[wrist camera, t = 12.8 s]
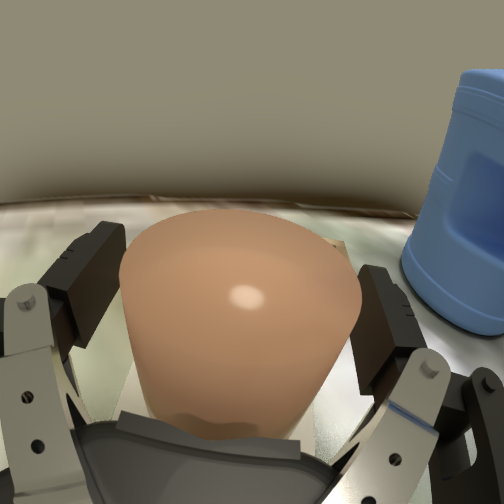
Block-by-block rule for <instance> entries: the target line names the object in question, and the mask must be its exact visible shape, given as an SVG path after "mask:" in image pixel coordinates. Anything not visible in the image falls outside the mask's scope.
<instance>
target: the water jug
mask: <svg viewBox="0 0 504 504" xmlns="http://www.w3.org/2000/svg"><path fill="white" fill-rule="evenodd" d="M452 111H453V112H452V116H451V119H450V123H449V127H448V131H447V134H446V137H445V141H444V144H443V147H442V151H441V154H440V157H439V160H438V163H437V165H436V166H435V169H434V171H433V174H432V177H431V180H430V184H429V190H428V193H427V195H426V198H425V201H424V203H423V206H422V209H421V211H420V214H419V216H418V219H417V221H416V224H415V226H414V229H413V231H412V234H411V235H410V236H409V238H408V240H407V242H406V244H405V247H404V249H403V252H402V267H403V270H404V273H405V275H406V277H407V279H408V281H409V283H410V284H411V286H412V287H413V289H414V290H415V291H416V293H417V294H418V295H419V296H420V297H421V298H422V299H423V300H424V301H425V302H426V303H427V304H428V305H429V306H430V307H431V308H432V309H433V310H434V311H436V312H437V313H438V314H440V315H441V316H442V317H444V318H445V319H447V320H448V321H450V322H451V323H453V324H455V325H457V326H459V327H461V328H463V329H465V330H467V331H470V332H473V333H476V334H480V335H487V336H493V335H499V334H503V333H504V69H477V70H467V71H465V72H463V74H462V75H461V77H460V82H459V87H458V88H457V91H456V93H455V97H454V102H453V107H452Z"/></svg>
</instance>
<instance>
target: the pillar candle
mask: <svg viewBox="0 0 504 504" xmlns="http://www.w3.org/2000/svg"><path fill="white" fill-rule="evenodd" d="M119 281H120V289H121V296H122V302H123V308H124V313H125V319H126V324H127V329H128V334H129V339H130V344H131V348H132V353H133V357H134V362H135V366H136V370H137V374H138V378H139V382H140V386H141V390H142V393H143V397H144V401H145V404H146V408H147V411H148V415H149V418H153V419H157V420H161V421H164V422H166V423H168V424H170V425H173V426H175V427H177V428H179V429H181V430H183V431H186V432H188V433H190V434H192V435H195V436H197V437H199V438H202V439H204V440H209V441H216V440H229V439H240V438H250V437H264V438H275V439H289V438H290V436H291V435H292V433H293V432H294V430H295V429H296V427H297V425H298V424H299V422H300V421H301V419H302V418H303V416H304V414H305V413H306V411H307V410H308V408H309V406H310V405H311V403H312V401H313V400H314V398H315V396H316V395H317V393H318V391H319V390H320V388H321V386H322V385H323V383H324V381H325V379H326V378H327V376H328V374H329V372H330V371H331V369H332V367H333V365H334V363H335V362H336V360H337V358H338V356H339V354H340V352H341V351H342V349H343V347H344V345H345V343H346V341H347V339H348V337H349V335H350V333H351V331H352V329H353V327H354V325H355V323H356V321H357V319H358V316H359V314H360V310H361V305H362V292H361V287H360V283H359V280H358V278H357V275H356V273H355V271H354V270H353V268H352V266H351V265H350V263H349V262H348V261H347V260H346V258H345V257H344V256H343V255H342V254H341V253H340V252H339V251H338V250H337V249H336V248H335V247H334V246H332V245H331V244H330V243H329V242H327V241H326V240H325V239H323V238H322V237H320V236H319V235H317V234H315V233H313V232H312V231H310V230H308V229H306V228H304V227H302V226H300V225H297V224H295V223H292V222H290V221H287V220H284V219H281V218H278V217H275V216H271V215H267V214H262V213H257V212H252V211H244V210H232V209H212V210H201V211H193V212H188V213H184V214H180V215H176V216H173V217H170V218H167V219H165V220H162V221H160V222H158V223H156V224H154V225H152V226H151V227H149V228H148V229H146V230H145V231H143V232H142V233H141V234H140V235H139V236H137V237H136V238H135V239H134V240H133V242H132V243H131V244H130V245H129V247H128V248H127V250H126V252H125V253H124V255H123V258H122V261H121V264H120V271H119Z"/></svg>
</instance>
